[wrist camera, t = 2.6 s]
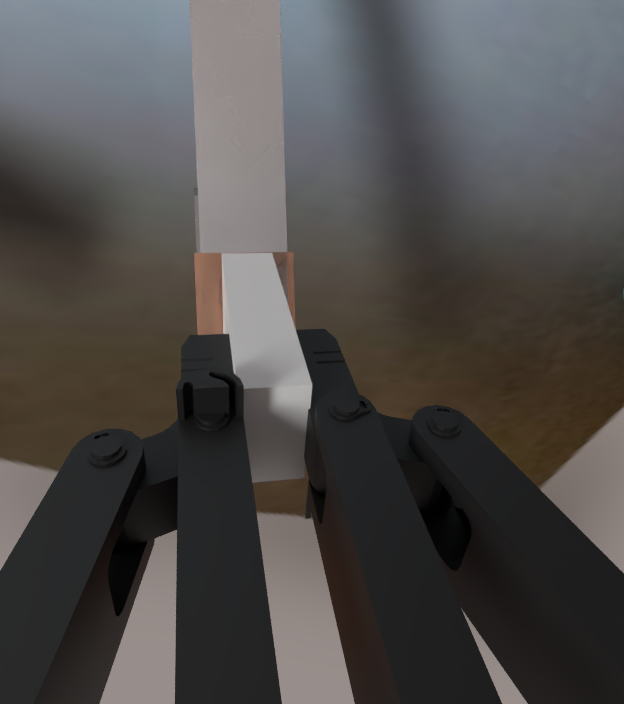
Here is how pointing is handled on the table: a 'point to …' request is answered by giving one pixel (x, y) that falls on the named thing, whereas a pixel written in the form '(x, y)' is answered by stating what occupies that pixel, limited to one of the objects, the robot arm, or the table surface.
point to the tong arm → (238, 144)
